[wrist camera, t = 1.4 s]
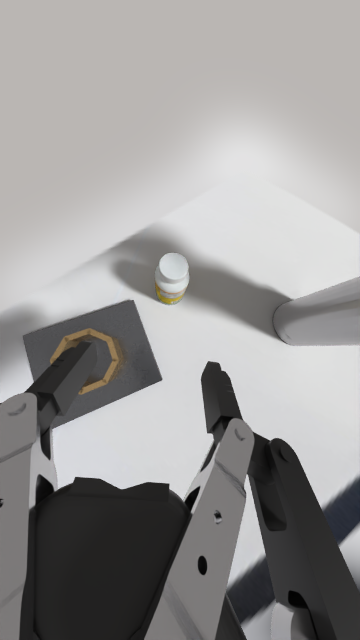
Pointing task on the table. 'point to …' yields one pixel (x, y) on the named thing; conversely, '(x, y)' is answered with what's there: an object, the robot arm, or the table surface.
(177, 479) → the table surface
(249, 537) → the table surface
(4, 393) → the table surface
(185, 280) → the supplement bottle
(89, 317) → the collar plate
